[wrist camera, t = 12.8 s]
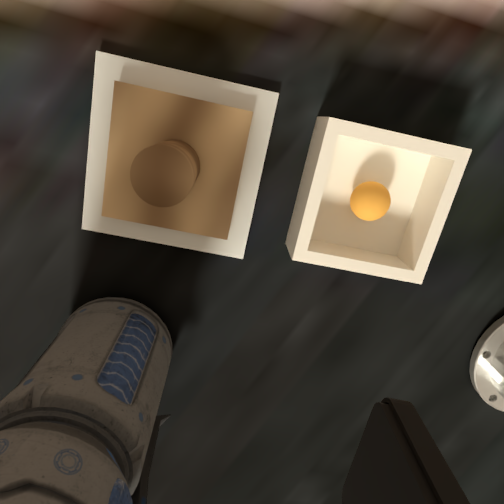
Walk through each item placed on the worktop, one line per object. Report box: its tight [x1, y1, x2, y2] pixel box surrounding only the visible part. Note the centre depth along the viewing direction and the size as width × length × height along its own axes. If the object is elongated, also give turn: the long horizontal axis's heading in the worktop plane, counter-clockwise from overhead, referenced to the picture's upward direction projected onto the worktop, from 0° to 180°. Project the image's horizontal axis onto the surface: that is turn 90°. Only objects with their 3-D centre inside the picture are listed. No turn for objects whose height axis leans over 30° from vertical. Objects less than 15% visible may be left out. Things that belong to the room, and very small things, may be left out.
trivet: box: [82, 51, 279, 259], centre depth 33 cm, size 14×14×1 cm
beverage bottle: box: [0, 297, 172, 504], centre depth 27 cm, size 10×13×25 cm
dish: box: [285, 116, 472, 284], centre depth 33 cm, size 11×11×4 cm
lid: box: [101, 80, 253, 240], centre depth 29 cm, size 10×10×7 cm
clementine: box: [350, 181, 391, 221], centre depth 33 cm, size 3×3×3 cm
